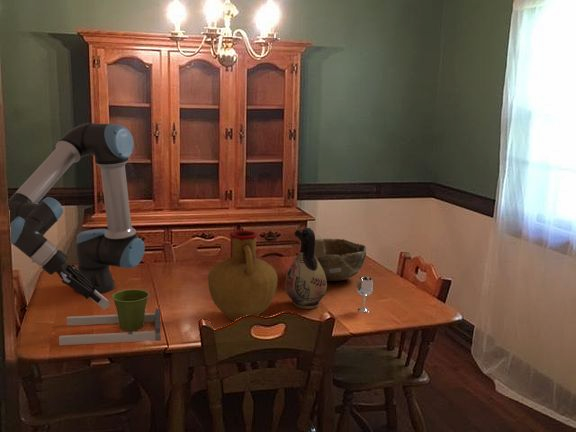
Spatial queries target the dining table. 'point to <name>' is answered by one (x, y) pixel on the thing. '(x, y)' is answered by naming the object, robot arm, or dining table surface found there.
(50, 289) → the dining table surface
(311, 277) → the ceramic jug
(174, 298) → the dining table surface
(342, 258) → the bowl
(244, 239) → the vase
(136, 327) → the plant pot
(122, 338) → the guide channel
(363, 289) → the wineglass
